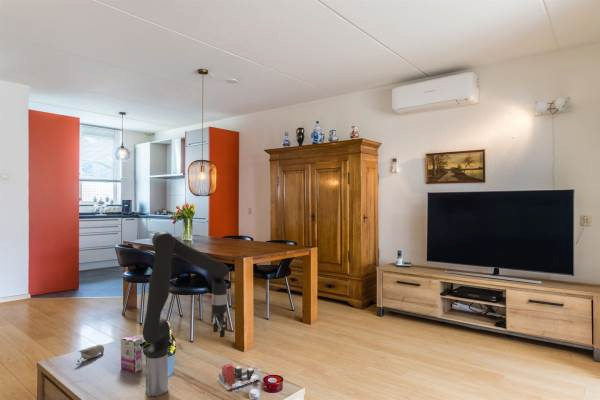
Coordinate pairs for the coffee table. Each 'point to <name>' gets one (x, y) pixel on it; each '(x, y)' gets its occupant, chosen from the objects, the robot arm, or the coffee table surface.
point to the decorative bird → (91, 352)
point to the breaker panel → (236, 379)
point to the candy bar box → (131, 354)
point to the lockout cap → (228, 372)
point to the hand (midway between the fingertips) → (218, 334)
